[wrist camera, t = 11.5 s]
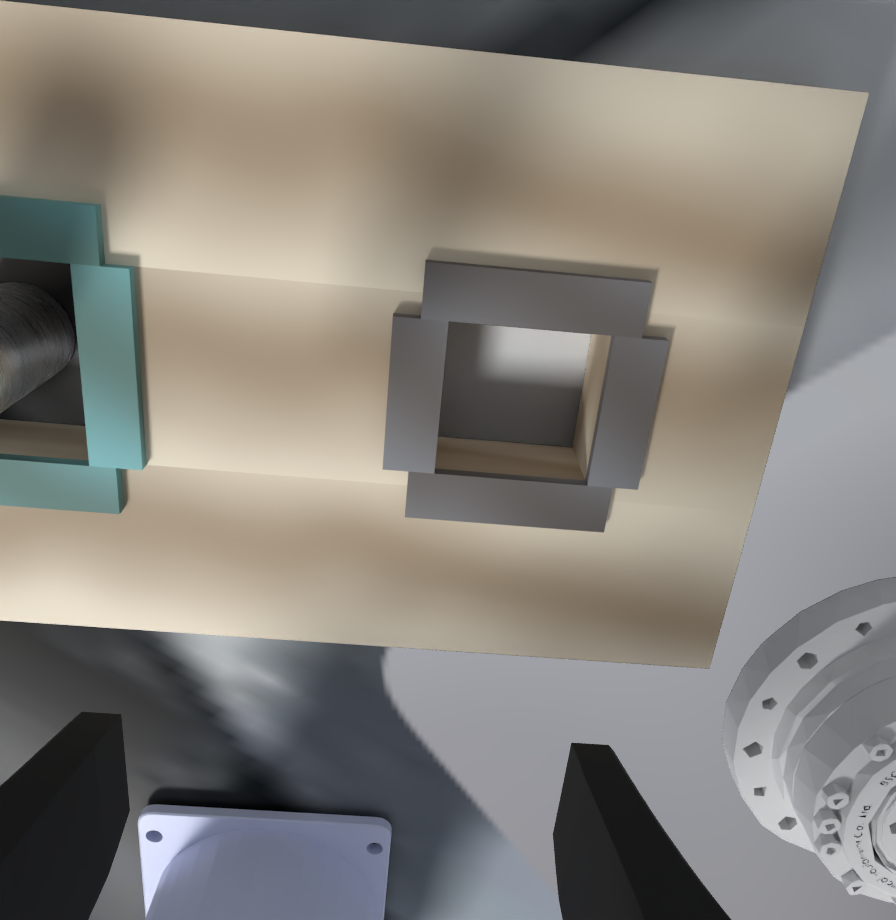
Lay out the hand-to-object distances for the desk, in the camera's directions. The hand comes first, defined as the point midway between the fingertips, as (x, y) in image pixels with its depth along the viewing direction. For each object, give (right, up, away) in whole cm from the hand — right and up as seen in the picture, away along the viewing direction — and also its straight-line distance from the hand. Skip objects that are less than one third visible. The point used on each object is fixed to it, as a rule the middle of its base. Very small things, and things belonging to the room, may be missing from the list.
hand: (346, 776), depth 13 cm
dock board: (-3, +8, +7) cm, 11 cm away
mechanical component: (+15, -2, +12) cm, 19 cm away
